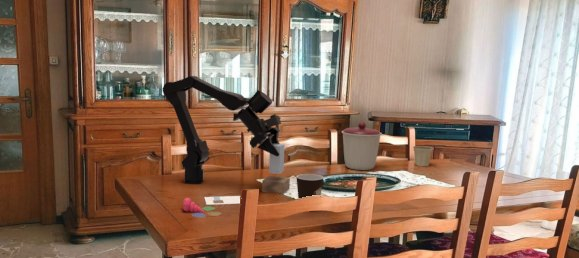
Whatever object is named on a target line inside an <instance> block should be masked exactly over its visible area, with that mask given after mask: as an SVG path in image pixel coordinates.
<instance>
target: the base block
mask: <svg viewBox="0 0 579 258" xmlns="http://www.w3.org/2000/svg"><path fill="white" fill-rule="evenodd" d="M290 179H291V178H290V177H281V176H272V175H269V176H267V177H266V178H264V179H263V180H261V182H262V184H261V185H262V186H261V192H263V193H270V194H271V193H273V194H281V195H283V194H285V193H286V192H288V191H289V190H290V182H291V180H290Z"/></svg>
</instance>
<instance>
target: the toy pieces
mask: <svg viewBox="0 0 579 258" xmlns="http://www.w3.org/2000/svg"><path fill="white" fill-rule="evenodd" d="M182 203H183V206H182V207H183V208H182V209H183V212H186V213H189V212H190V213H192V214H191V216H192V217H195V218H205V217H206V214H208V215H209V216H213V217H214V216H220V215H221V214H222V212H219V211H213V210H216V207H214V206H210V205H207V206H205V207H202V208H201V207H200V206H198V204H196V203H195V202H194V201H192V199H191V198H190V197H185V198H184V200H183V201H182ZM205 211H207V212H206V214H205Z"/></svg>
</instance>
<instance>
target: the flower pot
mask: <svg viewBox="0 0 579 258" xmlns="http://www.w3.org/2000/svg"><path fill="white" fill-rule="evenodd" d="M412 149H413V151H414V152H413V153H414V165H415V166H418V167H429V165H430V161H431V160H430V159H431V156H432V152H433V150H434V147H430V146H427V145H426V146H425V145H424V146H423V145H415V146H412Z"/></svg>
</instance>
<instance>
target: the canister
mask: <svg viewBox="0 0 579 258" xmlns="http://www.w3.org/2000/svg"><path fill="white" fill-rule="evenodd" d="M357 126H358V127H357ZM357 126H356V127H346V128H345V129H343V130H342V131H341V133H342V142H343V156H344V157H343V158H344V159H343V160H344V164H345V166H346V167H347V168H348V169H351V170H356V171H369V170H373V169H374V168H375V166H376V163H377V159H378V158H377V157H378V153H379V146H380V141H381V136H383V135H382V134H383V133H382V132H380V131H379V130H378V129H375V128H371V127H367V124H366V122H365V121H360V122H358V123H357Z"/></svg>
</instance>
